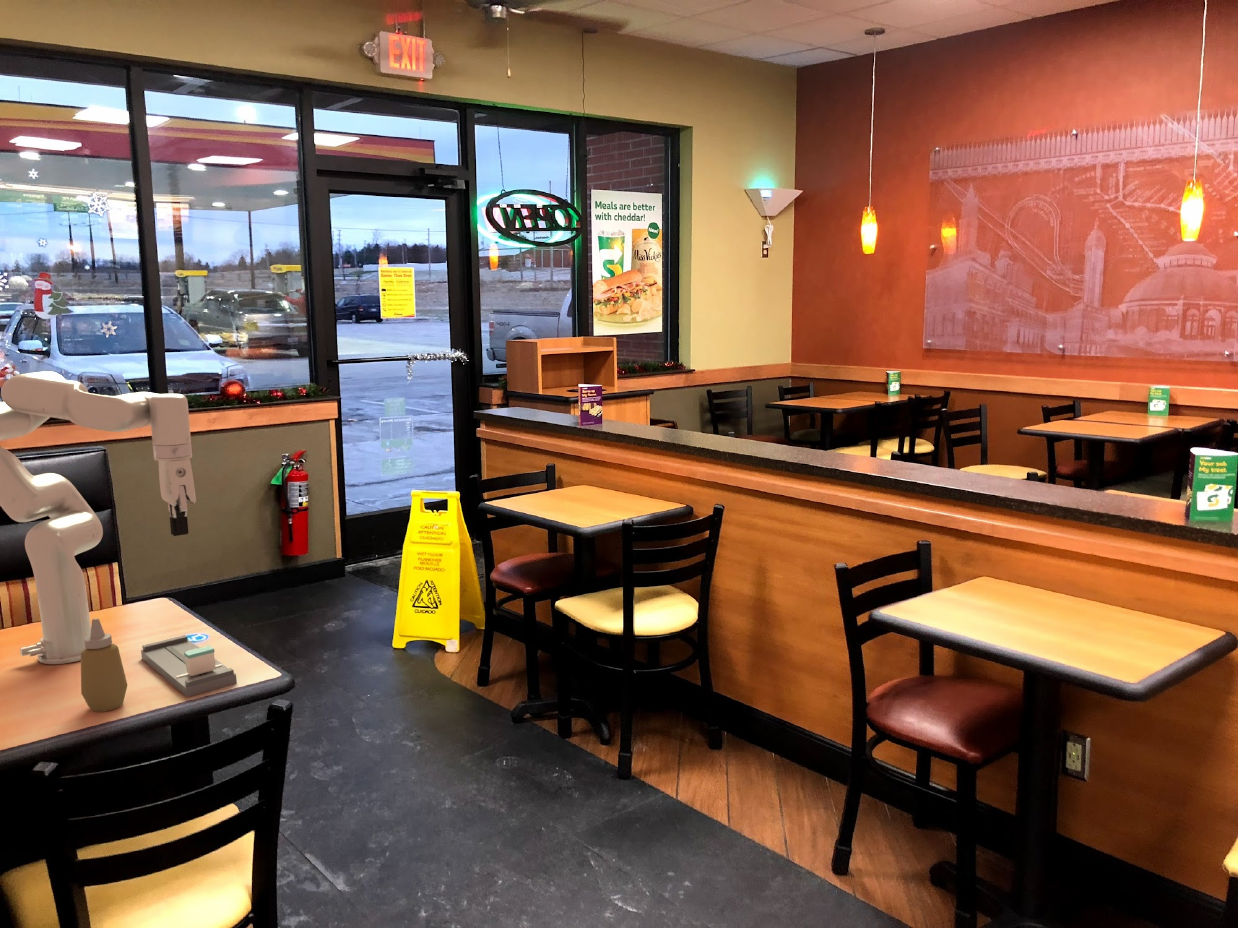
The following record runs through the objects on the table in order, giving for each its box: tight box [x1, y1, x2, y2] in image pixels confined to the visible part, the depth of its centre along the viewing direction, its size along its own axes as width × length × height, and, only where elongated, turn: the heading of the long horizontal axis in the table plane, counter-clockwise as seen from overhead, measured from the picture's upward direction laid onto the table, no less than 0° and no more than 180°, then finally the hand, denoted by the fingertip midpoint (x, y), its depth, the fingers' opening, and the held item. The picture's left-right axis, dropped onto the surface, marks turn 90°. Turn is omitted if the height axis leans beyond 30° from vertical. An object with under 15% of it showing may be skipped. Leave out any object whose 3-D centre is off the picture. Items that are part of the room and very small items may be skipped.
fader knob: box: [184, 645, 216, 676], centre depth 203 cm, size 5×3×4 cm, turn 131°
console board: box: [140, 635, 238, 698], centre depth 210 cm, size 10×30×3 cm, turn 42°
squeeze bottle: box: [80, 618, 128, 713], centre depth 191 cm, size 8×8×18 cm
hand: (179, 534), depth 213 cm, fingers closed
